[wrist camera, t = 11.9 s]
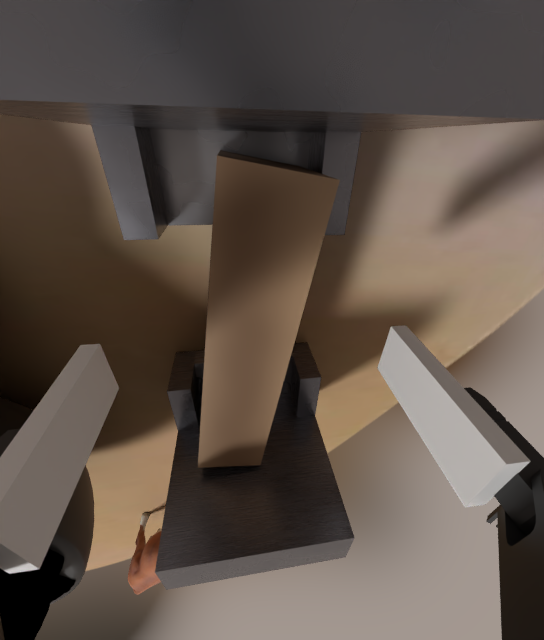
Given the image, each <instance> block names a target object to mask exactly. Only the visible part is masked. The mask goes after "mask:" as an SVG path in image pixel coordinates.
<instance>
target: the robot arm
mask: <svg viewBox="0 0 544 640" xmlns="http://www.w3.org/2000/svg"><path fill="white" fill-rule="evenodd" d="M378 370H379V371H380V373H381V375H382V376H383V378H384V379H385V381H386V383H387V384H388V386H389V387H390V389H391V391H392V392H393V394H394V395H395V397H396V399H397V400H398V402H399V403H400V405H401V406H402V408H403V410H404V411H405V413H406V414H407V416H408V418H409V419H410V421H411V422H412V424H413V426H414V427H415V429H416V430H417V432H418V434H419V435H420V436H421V438H422V440H423V442H424V443H425V445H426V446H427V448H428V450H429V451H430V453H431V454H432V456H433V457H434V459H435V461H436V462H437V464H438V465H439V467H440V469H441V470H442V472H443V473H444V475H445V476H446V478H447V480H448V481H449V483H450V485H451V486H452V488H453V489H454V491H455V492H456V494H457V496H458V497H459V499H460V500H461V502H462V504H463V505H464V507H471V506H479V505H485V504H486V503H488V502H489V501H490V500H491V499H492V498H493V497H494V496H495V497H496V499H497V500H498V502H499V503H500V504H501V505H499V507H497V508H496V509H495V510H494V511H493V512H492V513H491V514H490V515H489V516H488V518H487V522H488V523H492V522H493V521H494V520H495V519H496V518H498V524H497V525H496V527H497V528H498V540H499V541H498V544H499V571H500V599H501V626H502V640H544V458H543V457H542V456H541V455H540V454H539V453H538V452H537V451H536V450H535V449H534V447H533V446H532V445H531V444H530V443H529V442H528V441H527V440H526V439H525V438H524V437H523V436H522V435H521V434H520V433H519V432H518V431H517V430H516V429H515V428H514V427H513V426H512V425H511V424H510V423H509V422H507V421H506V419H505V417H503V416H502V414H501V413H500V412H497V411H496V408H495V407H494V406H493V405H492V404H491V403H490V402H489V401H488V400H487V399H486V398H485V397H484V396H482V395H481V394H479V393H478V392H476V391H475V390H473V389H472V388H463V387H462V386H461V385H460V384H459V383H458V381H457V380H456V379H455V378H454V377H453V376H452V375H451V374H450V373H449V372H448V371H447V369H446V368H445V367H444V366H443V365H442V364H441V363H440V362H439V361H438V360H437V359H436V357H435V356H434V355H433V354H432V353H431V352H430V351H429V350H428V349H427V348H426V347H425V345H424V344H423V343H422V342H421V341H420V340H419V339H418V338H417V337H416V336H415V335H414V334H413V332H412V331H411V330H410V329H409V328H408V327H407V326H406V325H405V326H391V328H390V331H389V334H388V337H387V340H386V344H385V347H384V350H383V353H382V356H381V359H380V362H379V365H378ZM118 390H119V386H118V384H117V382H116V380H115V377H114V375H113V373H112V370H111V368H110V366H109V363H108V361H107V359H106V357H105V354H104V352H103V350H102V347H101V345H100V344H88V345H80V346H79V348H78V349H77V351H76V352H75V353H74V355H73V356H72V358H71V359H70V360H69V362H68V363H67V365H66V366H65V367H64V369H63V370H62V372H61V373H60V374H59V376H58V377H57V379H56V380H55V381H54V383H53V384H52V386H51V387H50V388H49V390H48V391H47V393H46V394H45V395H44V397H43V398H42V400H41V401H40V402H39V404H38V405H37V407H36V408H35V409H34V411H33V412H32V414H31V415H30V416H29V418H28V419H27V421H26V422H25V423H24V425H23V426H22V428H21V429H14V430H8V431H7V432H6V433H4V434H3V435H2V436H1V437H0V569H2V570H4V571H6V572H7V573H9V574H11V573H17V572H24V571H31V570H38V569H40V567H41V565H42V562H43V560H44V558H45V556H46V553H47V551H48V549H49V547H50V544H51V542H52V540H53V537H54V535H55V533H56V531H57V528H58V526H59V524H60V522H61V519H62V517H63V515H64V513H65V510H66V508H67V506H68V503H69V501H70V499H71V497H72V494H73V492H74V490H75V488H76V485H77V483H78V481H79V478H80V476H81V474H82V472H83V469H84V467H85V465H86V463H87V460H88V458H89V456H90V454H91V451H92V449H93V447H94V444H95V442H96V440H97V438H98V435H99V433H100V431H101V429H102V426H103V424H104V422H105V420H106V417H107V415H108V413H109V410H110V408H111V406H112V404H113V401H114V399H115V397H116V395H117V392H118ZM0 640H4V634H3V629H2V623H1V618H0Z"/></svg>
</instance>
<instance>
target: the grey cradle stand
mask: <svg viewBox="0 0 544 640" xmlns="http://www.w3.org/2000/svg"><path fill="white" fill-rule="evenodd" d="M0 114H3V115H11V116H20V117H28V118H36V119H45V120H53V121H61V122H70V123H78V124H86V125H92V129H93V132H94V136H95V139H96V143H97V146H98V150H99V153H100V157H101V160H102V164H103V168H104V171H105V175H106V178H107V182H108V185H109V189H110V192H111V196H112V199H113V203H114V206H115V210H116V213H117V217H118V220H119V224H120V228H121V231H122V235H123V238H124V240H144V239H159V238H160V236H161V235H162V233H163V232H164V230H165V229H166V227H167V226H168V225H212V224H213V211H214V195H215V179H216V163H217V155H218V153H219V152H220V150H223V151H227V152H232V153H237V154H242V155H247V156H252V157H257V158H262V159H267V160H271V161H276V162H281V163H286V164H291V165H296V166H300V167H303V168H306V169H309V170H312V171H315V172H318V173H321V174H324V175H327V176H330V177H333V178H335V179H338V180H340V181H339V185H338V189H337V192H336V196H335V199H334V203H333V206H332V210H331V214H330V217H329V221H328V224H327V228H326V232H325V235H344V234H345V228H346V222H347V216H348V210H349V204H350V197H351V191H352V185H353V179H354V173H355V167H356V161H357V154H358V148H359V142H360V136H361V132H372V131H387V130H402V129H417V128H432V127H447V126H462V125H477V124H492V123H507V122H522V121H537V120H544V0H0ZM204 357H205V350H201V351H188V352H176V356H175V360H174V364H173V368H172V373H171V377H170V381H169V385H168V389H167V393H168V397H169V400H170V404H171V407H172V411H173V414H174V418H175V421H176V425H177V429H178V435H177V441H176V447H175V453H174V459H173V465H172V471H171V477H170V483H169V489H168V496H167V502H166V508H165V514H164V520H163V526H162V532H161V538H160V544H159V550H158V556H157V562H156V568H155V573H156V575H157V576H158V578H159V579H160V581H161V582H162V584H163V585H164V587H165V588H166V589H173V588H178V587H184V586H190V585H195V584H201V583H206V582H211V581H217V580H223V579H228V578H233V577H239V576H244V575H250V574H256V573H261V572H266V571H271V570H278V569H283V568H289V567H294V566H299V565H305V564H311V563H316V562H322V561H327V560H333V559H338V558H343V557H346V555H347V553H348V550H349V548H350V546H351V544H352V542H353V540H354V535H353V532H352V529H351V526H350V523H349V520H348V516H347V513H346V510H345V508H344V504H343V501H342V498H341V495H340V492H339V489H338V486H337V483H336V480H335V476H334V473H333V470H332V467H331V464H330V461H329V458H328V455H327V451H326V448H325V445H324V442H323V439H322V436H321V433H320V430H319V427H318V424H317V421H316V417H315V412H316V406H317V400H318V394H319V388H320V382H321V375H320V373H319V371H318V368H317V366H316V363H315V361H314V358H313V356H312V353H311V351H310V348H309V346H308V343H294V346H293V350H292V354H291V357H290V361H289V364H288V368H287V371H286V375H285V379H284V382H283V386H282V389H281V393H280V397H279V400H278V404H277V407H276V411H275V415H274V418H273V422H272V425H271V429H270V432H269V436H268V440H267V443H266V447H265V450H264V454H263V458H262V461H261V465H250V466H227V467H203V468H198V454H199V438H200V422H201V406H202V390H203V373H204Z"/></svg>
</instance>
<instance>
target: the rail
mask: <svg viewBox="0 0 544 640" xmlns="http://www.w3.org/2000/svg"><path fill="white" fill-rule="evenodd" d="M339 181H340V180H338V179H335V178H333V177H330V176H327V175H324V174H321V173H318V172H315V171H312V170H309V169H306V168H303V167H300V166H296V165H291V164H286V163H281V162H276V161H271V160H267V159H262V158H257V157H252V156H247V155H242V154H237V153H232V152H227V151H223V150H220V152H219V153H218V155H217V163H216V179H215V195H214V211H213V228H212V244H211V260H210V276H209V292H208V309H207V325H206V341H205V357H204V373H203V390H202V406H201V422H200V438H199V454H198V468H203V467H227V466H250V465H261V461H262V458H263V454H264V450H265V447H266V443H267V440H268V436H269V432H270V429H271V425H272V422H273V418H274V415H275V411H276V407H277V404H278V400H279V397H280V393H281V389H282V386H283V382H284V379H285V375H286V371H287V368H288V364H289V361H290V357H291V354H292V350H293V346H294V343H295V339H296V336H297V332H298V328H299V325H300V321H301V318H302V314H303V310H304V307H305V303H306V300H307V296H308V293H309V289H310V285H311V282H312V278H313V275H314V271H315V267H316V264H317V260H318V257H319V253H320V250H321V246H322V242H323V239H324V235H325V232H326V228H327V224H328V221H329V217H330V214H331V210H332V206H333V203H334V199H335V196H336V192H337V189H338V185H339Z"/></svg>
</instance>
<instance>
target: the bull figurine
mask: <svg viewBox="0 0 544 640" xmlns="http://www.w3.org/2000/svg"><path fill="white" fill-rule="evenodd" d="M149 516H150V513H143V514H142V517H141V521H140V530H139V533H138V536H137V539H136V546H137V547H136V550H135V553H134V555H133V557H132V560H131V564H130V568H129V573H128V581H129V584H130V586H131V587H132V588H133V590H134V593H135V594H140V593H142V592H143V591H144V590H146V589H148V588H150V587H151V586H153V585H155V584H158V583H160V582H161V581H160V579H159V578H158V576H157V575H156V573H155V568H156V562H157V556H158V550H159V544H160V538H161V532H162V529H160V528H159V529H158V531H157V532H156V533H155V534H154V535H153V536H151V537H150V538H149V540H148V542H147V543H145V536H144V531H145V526H146V523H147V520H148V519H149Z"/></svg>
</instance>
